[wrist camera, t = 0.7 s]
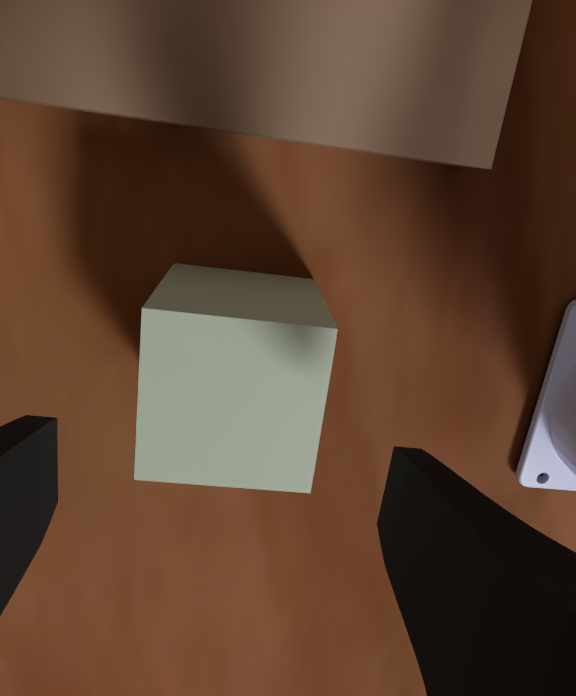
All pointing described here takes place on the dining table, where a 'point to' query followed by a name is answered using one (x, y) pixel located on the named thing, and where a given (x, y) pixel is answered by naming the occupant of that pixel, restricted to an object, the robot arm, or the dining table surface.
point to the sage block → (232, 379)
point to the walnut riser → (279, 68)
